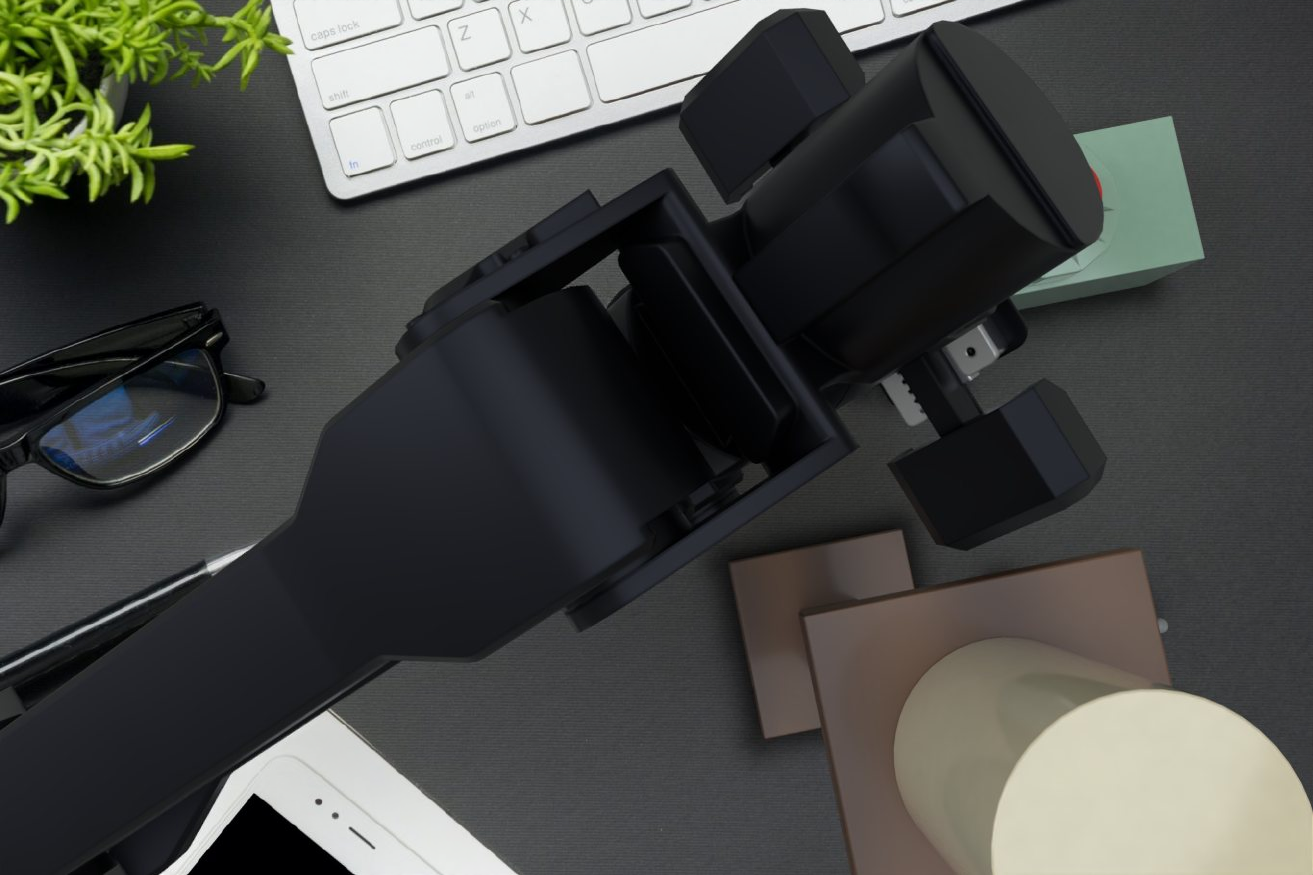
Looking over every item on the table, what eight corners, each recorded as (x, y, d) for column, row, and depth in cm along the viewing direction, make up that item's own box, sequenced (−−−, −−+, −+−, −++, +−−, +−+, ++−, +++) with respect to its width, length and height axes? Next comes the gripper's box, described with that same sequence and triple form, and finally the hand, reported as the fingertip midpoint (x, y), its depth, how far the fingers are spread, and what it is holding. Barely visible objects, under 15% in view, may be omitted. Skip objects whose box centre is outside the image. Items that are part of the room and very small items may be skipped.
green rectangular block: (946, 324, 56) (994, 293, 48) (918, 195, 57) (961, 144, 49) (1144, 285, 57) (1225, 248, 49) (1115, 158, 57) (1191, 100, 49)
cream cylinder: (919, 897, 27) (1030, 1059, 19) (871, 661, 28) (960, 724, 20) (1150, 850, 27) (1356, 992, 19) (1098, 616, 28) (1280, 660, 20)
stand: (762, 734, 55) (874, 968, 27) (727, 561, 56) (802, 615, 28) (933, 700, 55) (1221, 898, 27) (897, 528, 56) (1142, 547, 28)
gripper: (1204, 509, 25) (1308, 343, 37) (793, -138, 26) (1018, -105, 38) (859, 641, 33) (1034, 469, 44) (550, 134, 34) (799, 93, 45)
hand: (974, 240), depth 43 cm, fingers closed
